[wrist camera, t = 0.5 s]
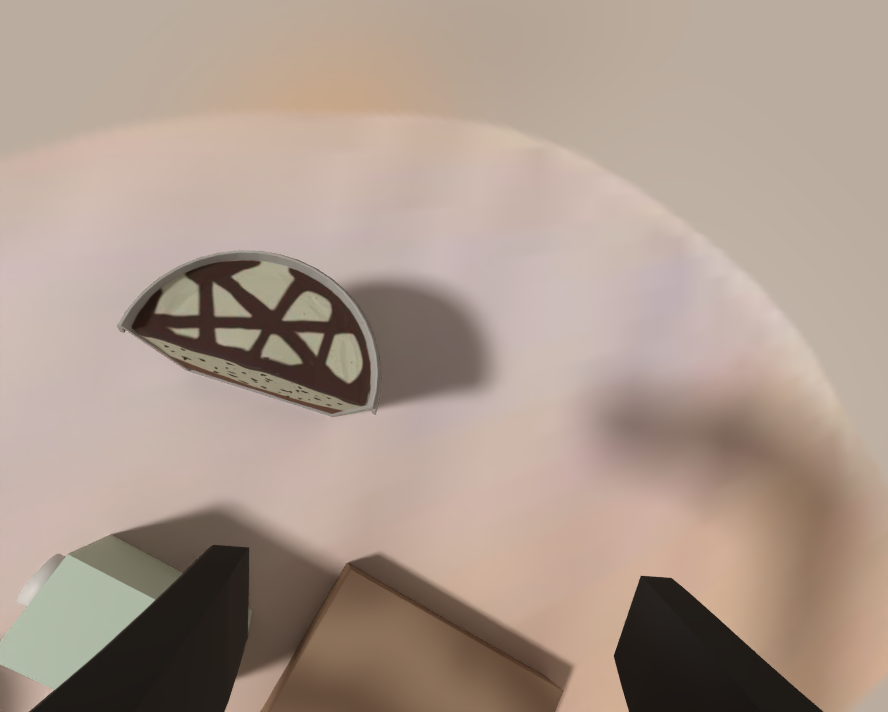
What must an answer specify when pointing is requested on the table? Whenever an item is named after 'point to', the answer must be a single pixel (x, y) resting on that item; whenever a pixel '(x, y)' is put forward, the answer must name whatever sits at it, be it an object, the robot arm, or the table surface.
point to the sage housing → (81, 607)
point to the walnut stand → (400, 661)
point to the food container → (263, 330)
